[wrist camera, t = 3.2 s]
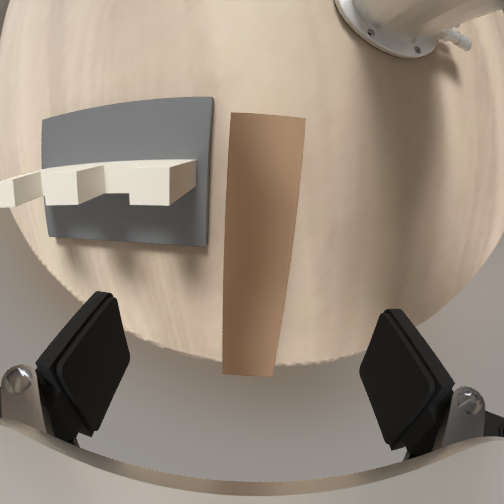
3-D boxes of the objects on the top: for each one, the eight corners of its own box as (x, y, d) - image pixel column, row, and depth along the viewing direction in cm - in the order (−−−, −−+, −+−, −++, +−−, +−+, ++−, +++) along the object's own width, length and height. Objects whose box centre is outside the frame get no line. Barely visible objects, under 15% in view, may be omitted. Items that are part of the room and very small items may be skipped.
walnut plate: (277, 133, 23) (305, 118, 10) (265, 273, 28) (272, 376, 15) (244, 130, 23) (231, 112, 10) (236, 271, 28) (222, 374, 15)
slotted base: (213, 98, 22) (191, 74, 13) (207, 242, 27) (186, 288, 18) (48, 119, 21) (-8, 123, 13) (54, 233, 27) (6, 264, 18)
